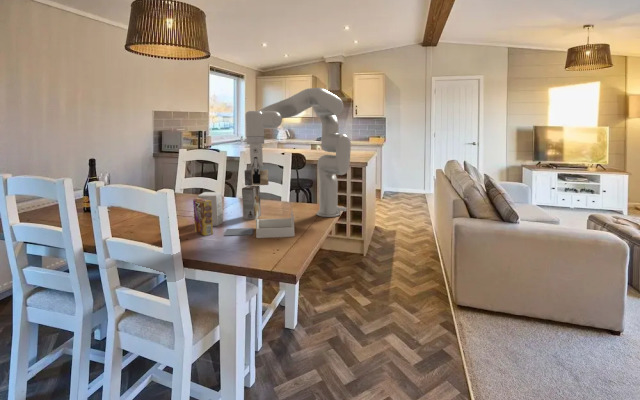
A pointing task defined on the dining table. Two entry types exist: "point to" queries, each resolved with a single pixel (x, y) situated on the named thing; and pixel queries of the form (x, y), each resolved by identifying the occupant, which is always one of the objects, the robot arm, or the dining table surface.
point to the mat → (239, 232)
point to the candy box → (203, 216)
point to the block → (250, 177)
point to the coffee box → (251, 202)
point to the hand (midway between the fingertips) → (256, 182)
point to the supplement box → (214, 206)
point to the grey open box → (266, 229)
